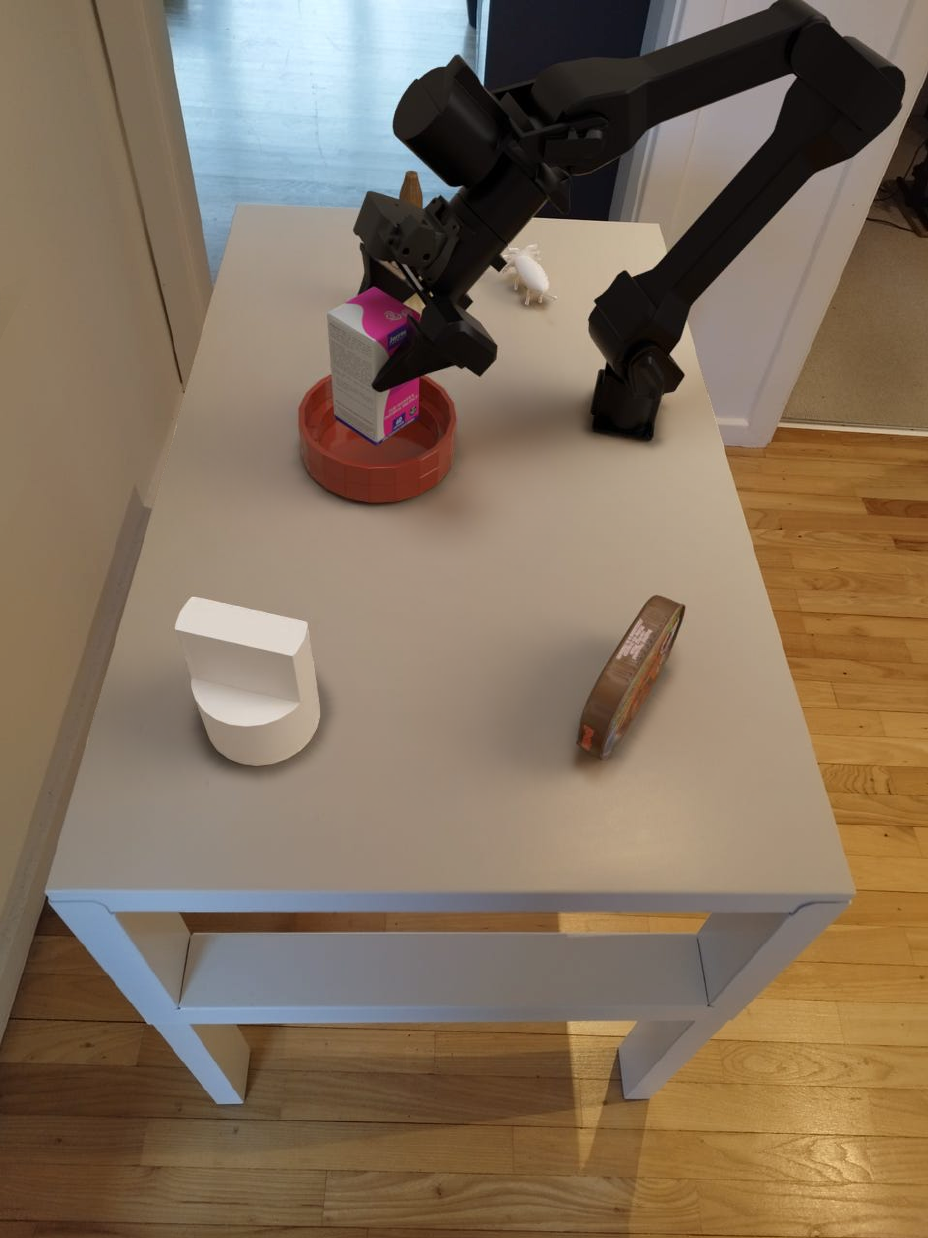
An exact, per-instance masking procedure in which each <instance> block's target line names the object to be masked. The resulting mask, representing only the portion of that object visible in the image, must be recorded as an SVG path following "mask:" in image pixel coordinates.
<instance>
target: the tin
mask: <svg viewBox="0 0 928 1238" xmlns="http://www.w3.org/2000/svg"><path fill="white" fill-rule="evenodd" d="M685 612H686V604H684V603H680V602H677V601H674V600H672V599H671V598H667V597H665V596H662V595H658V594H654V595H653V596H651V597H650V598H648V600H647V601H646V602H645V603H644V604H643V606H642V607H641V609H640V611H639V612H638V614H637V615H636V616H635V618H634V620H633V621H632V623H631V624H630V626H629V627H628V629H627V631H626V632H625V634H624V635H623V637H622V638H621V640H620V641H619V642H618V644H617V646H616V648H615V649H614V651H613V653H612V654H611V655H610V657H609V658H608V661H607V662H606V664H605V666H604V667H603V669H602V670H601V672H600V674H599V675H598V677H597V679H596V681H595V683H594V684H593V687H592V688H591V690H590V692H589V695H588V697H587V700H586V702H585V704H584V706H583V709H582V712H581V715H580V719H579V728H578V733H577V737H576V741H575V744H576V746H578V748H580V749H582V750H584V751H586V752H587V753H589V754H592V755H593V756H595V757H597V758H599V759H600V761H602V762H604V761H607V760H608V759H609V758H610V757H611V756H612V754H613V753H614V751H615V750H616V749H617V747H618V746H619V743H620V742H621V741H622V740H623V739H622V738H623V737H624V736H625V734H626V732H627V730H628V729H629V727H630V725H631V724H632V721H633V720H634V718H635V717H636V715H637V714H638V711H639V709H640V708H641V706H642V705H643V703H644V702H645V699H646V698H647V696H648V694H649V693H650V691H651V690H652V687H653V686H654V684H655V683H656V681H657V679H658V677H659V676H660V674H661V672H662V670H663V668H664V667H665V664H666V662H667V660H668V658H669V656H670V653H671V652H672V649H673V646H674V644H675V642H676V639H677V636H678V634H679V631H680V629H681V626H682V623H683V621H684V617H685Z"/></svg>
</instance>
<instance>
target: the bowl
mask: <svg viewBox="0 0 928 1238" xmlns="http://www.w3.org/2000/svg"><path fill="white" fill-rule="evenodd" d="M297 409H298V411H297V412H298V413H297V415H298V417H297V419H298V421H297V423H298V424H297V425H298V433H299V440H300V449H301V457H302V461H303V463H304V465H305V467H306V469H307V471H308V473H309V475H310V476H311V477H312V478H313V479H314V480H315V481H317V482H318V483H319V484H320V486H322V487H323V488H324V489H326V490H327V491H330V492H332V493H334V494H336V495H339V496H341V497H343V498H346V499H347V500H348V499H349V500H355V501H359V502H364V503H371V504H373V503H394V502H399V501H403V500H406V499H411V498H414V497H417V496H420V495H421V494H423V493H425V492H427V491H429V490H430V489H432V488H433V487H435V486H437V485H438V484H439V483H440V482H441V480H442V479H443V478H444V477H445V476H446V475H447V474H448V472H449V471H450V470H451V466H452V464H453V460H454V458H455V453H456V437H457V423H458V421H457V420H458V419H457V412H456V406H455V402H454V401H453V399H452V398H451V396H450V395H449V393H448V392H447V391H446V389H445V388H444V387H443V386H442V385H440V384H439V383H438V382H436V381H435V380H434V379H432V378H430V377H429V376H428V375H424V376H421V377H419V410H418V418H417V419H415V420H414V421H412V422H410V423H409V424H407V425H406V426H404V427H403V428H401V429H400V430H398V431H397V432H395V433H394V434H392V435H391V436H390V437H388V438H387V439H385V440H384V441H383V442H382V443H380V444H379V445H378V446H375V445H373V444H372V443H370V442H369V441H367V440H366V439H364V438H363V437H361V436H360V435H358V434H357V433H355V432H354V431H352V430H351V429H349V428H348V427H346V426H345V425H343V424H342V423H340V422H339V421H337V420H336V419H335V418H334V416H335V414H334V402H333V389H332V375H331V374H329V375H327V376H324V377H323V378H321V379H319V380H318V381H317V382H316V383H315V384H314V385H312V387H311V388H309V389H308V390H307V391H306V392H305V394H304V396H303V398H302V400H301V402H300V404H299V406H298V408H297Z"/></svg>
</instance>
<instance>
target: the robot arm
mask: <svg viewBox="0 0 928 1238" xmlns="http://www.w3.org/2000/svg"><path fill="white" fill-rule="evenodd" d="M789 75H794V77H795V79H794V80H793V82H792V83H791V85H790V86H789V88H788V89H787V90H786V93H785V94H784V97H783V101H782V104H781V107H780V109H779V114H778V116H777V120H776V123H775V126H774V129H773V131H772V132H771V134H770V135H769V137H767V139H766V141H765V142H763V144H762V145H761V146H760V147H759V148H758V149H757V150H756V152H755V153H754V154H753V155H752V156H751V157H750V159H748V161H747V162H746V163H745V164H744V165H743V166H742V167H741V169H740V170H738V172H737V173H736V175H735V176H733V178H732V179H731V180H730V181H729V182H728V183H727V185H726V186H725V187H724V188H723V189H722V190H721V191H720V193H718V195H717V196H716V197H715V198H714V200H712V201H711V203H710V204H709V205H708V206H707V207H706V209H704V211H703V212H702V213H701V214H700V215H699V217H697V218H696V220H695V221H694V222H693V223H692V224H691V225H690V227H689V228H687V230H686V231H685V232H684V233H683V234H682V235H681V237H680V238H679V239H678V241H676V242H675V244H674V245H672V247H671V248H670V249H669V250H668V251H667V253H665V255H664V256H663V257H662V258H661V259H660V261H659V262H658V263H657V264H656V265H655V266H654V267H653V268H651V269H649V270H646V271H644V272H641V273H639V274H636V275H633V276H632V275H631V274H630V273H629V272H628V271H627V270H626V269H624V270H622V271H620V272H619V273H618V274H616V276H615V278H614V279H613V280H612V282H611V284H610V285H609V286H608V288H607V289H605V290H604V292H602V294H600V295H599V296H597V297H595V299H593V302H594V304H595V306H594V307H593V308H592V311H591V312H590V314H589V315H588V318H587V321H588V326H587V327H588V330H587V331H588V335H589V337H590V339H591V340H592V341H593V344H594V345H595V346H596V347H597V349H598V351H599V352H600V353H601V355H602V357H604V359H605V361H606V362H605V366H604V368H600V369H599V370H597V375H596V380H595V386H594V388H593V389H594V390H593V394H592V399H591V405H590V411H589V414H590V415H591V416H593V418H592V424H591V430H592V431H593V432H594V433H595V432H596V433H599V434H606V435H611V436H616V437H617V436H618V437H623V438H629V439H632V440H633V439H634V440H639V441H643V442H644V441H645V442H652V441H653V439H654V436H655V428H656V427H655V426H656V420H657V416H658V412H659V409H660V406H661V402H662V400H663V396H665V395H666V394H670V393H671V394H672V393H675V392H676V391H677V389H678V387H679V386H680V384H681V383H682V381H683V380H684V379H685V376H686V374H685V372H684V371H683V370H682V369H681V367H680V365H678V363H677V362H676V360H675V359H674V358H673V357H672V355H671V353H672V352H673V350H674V349H675V348H676V347H677V345H678V344H679V342H680V341H681V339H682V336H683V333H684V330H685V326H686V323H687V320H688V317H689V314H690V312H691V308H692V306H693V304H694V303H695V302H696V301H697V300H698V299H699V298H700V297H701V296H702V295H703V293H704V292H705V291H707V290H708V288H709V287H710V286H711V285H712V284H713V283H714V282H715V281H716V280H717V279H718V278H719V276H720V275H721V274H723V272H724V271H725V270H726V269H727V268H728V266H729V265H731V263H732V262H733V261H734V260H735V259H736V258H737V257H738V256H739V255H740V254H741V253H742V252H743V250H744V249H745V248H746V247H747V246H748V245H749V244H750V243H751V242H752V241H753V240H754V239H755V237H756V236H758V234H759V233H760V232H762V230H763V229H764V228H766V226H767V225H768V224H769V223H770V222H771V221H772V219H773V218H775V216H776V215H777V214H778V213H779V212H780V211H781V210H782V209H783V208H784V207H785V205H787V203H788V202H789V201H790V200H791V199H792V198H793V197H794V196H795V195H796V194H797V192H798V191H799V190H801V188H802V187H803V186H804V185H805V184H806V183H807V182H808V181H809V179H810V178H812V177H813V176H814V175H815V174H817V173H819V172H821V171H824V170H826V169H828V168H832V167H833V166H836V165H838V164H840V163H843V162H846V161H848V160H850V159H852V158H854V157H855V156H857V154H859V153H860V152H861V151H862V150H864V149H865V147H867V146H868V145H869V144H870V143H872V141H875V139H876V138H877V137H879V136H880V135H881V134H882V133H883V132H884V131H886V129H887V128H888V127H890V126H891V124H892V123H893V122H894V120H896V118H897V116H898V115H899V114H900V112H901V110H902V108H903V105H904V104H903V99H904V97H905V92H906V85H907V84H906V77H905V74H904V71H903V70H902V69H900V68H899V66H897V65H895V64H894V63H892V62H891V61H889V60H888V59H887V58H885V57H884V56H883V55H881V54H880V53H878V52H877V51H875V50H874V49H872V48H871V47H870V46H868V45H867V44H865V43H864V42H863V41H861V40H860V39H858V38H857V37H855V36H850V35H844V36H842V35H841V34H840V33H839V32H838V30H836V29H835V28H834V27H833V26H832V24H831V21H830V20H829V18H828V16H826V15H825V14H823V12H821V11H819V10H817V9H816V8H814V7H813V6H812V5H811V4H809V3H808V2H806V1H804V0H776V1H775V2H773V3H772V4H771V5H770V6H769V7H767V8H766V9H763V10H760V11H757V12H755V13H752V14H750V15H747V16H745V17H741V18H739V19H736V20H734V21H731V22H728V23H726V24H723V25H720V26H718V27H715V28H712V29H709V30H707V31H704V32H701V33H699V34H696V35H693V36H690V37H688V38H685V39H683V40H681V41H678V42H675V43H672V44H670V45H667V46H665V47H662V48H658V49H656V50H654V51H651V52H648V53H645V54H643V55H640V56H634V57H629V58H619V57H618V58H616V57H601V56H598V57H597V56H593V57H587V58H580V59H575V60H569V61H564V62H559V63H555V64H552V65H551V66H549V67H547V68H545V69H544V70H542V71H541V72H540V73H539V74H538V75H536V77H535V78H534V79H530V80H526V81H522V82H517V83H514V84H509V85H507V86H503V87H500V88H495V89H492V90H488V89H487V88H486V87H485V86H484V85H483V84H482V83H481V80H480V78H479V76H478V75H477V74H476V73H475V71H474V70H473V69H472V68H471V66H470V65H469V64H468V62H467V61H466V60H465V59H464V58H463V57H462V56H461V55H460V54H454V55H453V57H452V58H451V59H450V60H449V61H448V63H447V64H446V66H445V65H443V66H437V67H435V68H432V69H430V70H429V71H427V72H426V73H424V74H423V75H422V76H421V77H419V78H415V79H413V80H412V82H411V83H410V84H409V85H408V87H407V88H406V90H405V91H404V92H403V94H402V96H401V98H400V99H399V101H398V103H397V105H396V108H395V111H394V114H393V118H392V132H393V135H394V136H395V138H396V139H398V140H399V141H400V142H401V144H403V145H404V146H405V147H406V148H407V149H408V150H409V151H410V152H411V153H413V154H414V156H416V157H417V159H418V160H420V161H421V162H422V163H423V164H424V165H425V166H426V167H427V168H428V169H430V171H432V173H434V175H436V176H437V177H438V178H439V179H440V180H441V181H442V182H443V183H444V184H446V185H447V186H448V187H450V188H459V189H458V190H457V192H456V193H455V194H454V195H453V196H452V197H451V199H450V200H447V199H446V198H445V197H444V196H443V195H442V194H439V196H438V197H437V196H435V197H433V198H432V200H430V202H429V203H428V204H427V205H426V206H425V207H423V208H421V207H418V206H415V205H413V204H411V203H409V202H406V201H403V200H400V199H399V198H397V197H393V196H391V195H386V194H385V193H380V192H377V191H373V190H368V191H366V193H365V196H364V199H363V202H362V204H361V207H360V210H359V211H358V212H359V213H358V214H357V218H356V220H355V223H354V225H353V228H352V232H353V233H354V235H355V236H357V237H359V239H360V242H359V247H358V248H359V251H360V253H361V256H362V257H361V259H362V264H363V275H362V276H363V277H362V280H361V283H360V286H359V289H358V292H357V295H356V296H358V295H360V294H362V293H363V292H365V291H367V290H369V289H370V288H372V287H376V288H378V289H380V290H381V291H383V292H384V293H386V294H388V295H389V296H391V297H393V298H394V299H396V300H398V301H399V302H401V303H404V302H406V301H407V300H408V299H409V298H411V297H412V296H413V295H414V294H416V293H417V294H418V296H419V297H420V299H421V300H422V302H423V303H424V305H425V307H424V308H423V310H422V314H421V319H420V322H419V321H417V320H416V319H414V318H413V317H412V316H410V315H409V314H407V320H406V336H405V338H404V340H403V341H402V342H401V344H400V345H399V346H398V348H397V349H396V350H395V352H394V353H393V354H392V355H391V357H390V358H389V359H388V361H387V362H386V363H385V365H384V366H383V367H382V369H381V370H380V371H379V373H378V374H377V376H376V378H375V379H374V381H373V382H372V384H371V386H372V388H373V389H374V390H376V391H377V392H380V393H381V392H384V391H386V390H389V389H391V388H394V387H396V386H399V385H401V384H404V383H406V382H408V381H411V380H413V379H416V378H418V377H421V376H424V375H425V376H427V375H430V374H432V373H436V372H439V371H442V370H445V369H448V368H452V367H457V368H458V369H460V370H463V369H465V368H466V369H467V370H468V371H470V372H472V373H473V374H474V375H476V376H477V377H478V378H481V377H482V376H483V375H484V373H485V372H486V371H488V369H489V368H490V367H491V366H492V365H493V364H494V363H495V362H496V361H497V357H498V344H497V343H496V341H495V340H494V339H493V337H492V336H491V335H490V333H489V332H488V331H487V329H486V328H485V327H484V325H483V323H482V322H481V321H479V320H478V319H477V318H476V317H474V316H473V315H472V314H471V313H469V312H468V311H467V310H468V309H469V308H470V306H471V305H472V304H473V303H474V300H473V299H472V298H471V296H470V295H469V293H468V292H469V291H470V290H471V289H472V288H473V287H474V286H475V284H476V283H477V282H478V281H479V280H480V279H481V277H483V275H484V274H485V273H486V272H487V271H488V269H489V268H490V267H492V268H493V269H494V270H495V271H496V272H497V273H501V272H500V271H502V270H503V269H504V268H505V265H506V264H507V262H506V259H504V258H503V257H502V253H504V251H505V250H507V247H509V245H510V244H511V243H512V242H513V241H514V240H515V239H516V237H517V236H519V234H520V233H521V232H522V231H523V230H524V228H526V226H527V225H528V224H529V222H531V220H532V219H533V218H534V217H535V216H536V215H537V214H538V212H539V211H540V210H541V209H542V208H543V207H544V205H545V204H546V203H547V202H548V201H549V202H551V204H552V205H553V206H554V207H555V208H556V209H557V211H559V212H560V213H561V214H562V215H567V214H569V213H570V211H571V195H570V190H571V189H570V188H571V184H572V181H573V180H572V177H571V176H575V177H576V176H577V177H578V176H585V175H588V174H592V173H594V172H596V171H597V170H599V169H601V168H603V167H604V166H606V165H608V164H610V163H611V162H614V161H615V160H617V159H618V158H620V157H622V156H624V155H626V154H627V153H629V152H630V151H631V150H632V149H633V148H634V147H635V145H636V144H637V143H638V142H639V140H640V139H642V137H643V136H644V135H645V133H647V132H648V131H650V130H652V129H653V128H655V127H656V126H658V125H660V124H662V123H664V122H668V121H670V120H672V119H675V118H678V117H680V116H683V115H686V114H688V113H691V112H693V111H697V110H699V109H702V108H704V107H707V106H709V105H713V104H715V103H717V102H720V101H723V100H726V99H728V98H731V97H733V96H736V95H739V94H741V93H744V92H747V91H749V90H751V89H754V88H757V87H759V86H763V85H765V84H769V83H771V82H773V81H776V80H779V79H781V78H784V77H786V76H789ZM512 141H515V143H516V144H517V145H518V146H517V147H514V148H511V147H510V146H509V144H510V143H511V142H512ZM548 164H549V165H556V167H555V166H554V167H549V166H548ZM419 277H421V278H422V280H420V278H419ZM430 292H431V294H432V295H433V296H431V295H430Z"/></svg>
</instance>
